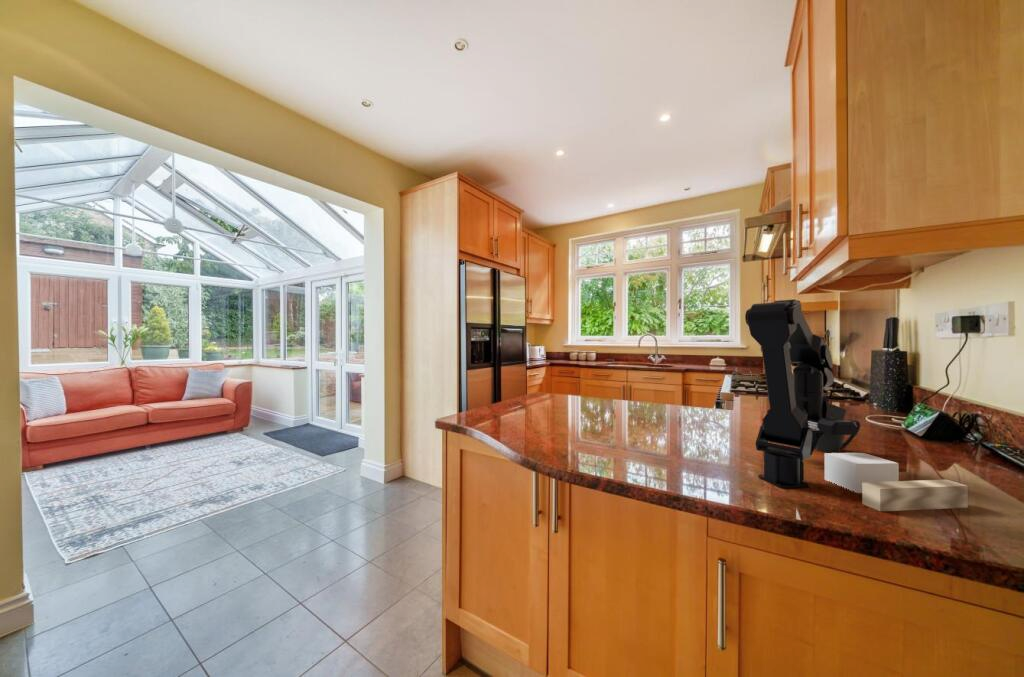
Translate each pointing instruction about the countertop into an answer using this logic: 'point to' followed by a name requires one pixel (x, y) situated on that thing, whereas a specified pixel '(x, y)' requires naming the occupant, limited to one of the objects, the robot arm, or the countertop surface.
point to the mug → (835, 441)
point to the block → (858, 470)
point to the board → (914, 495)
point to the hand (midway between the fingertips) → (807, 455)
